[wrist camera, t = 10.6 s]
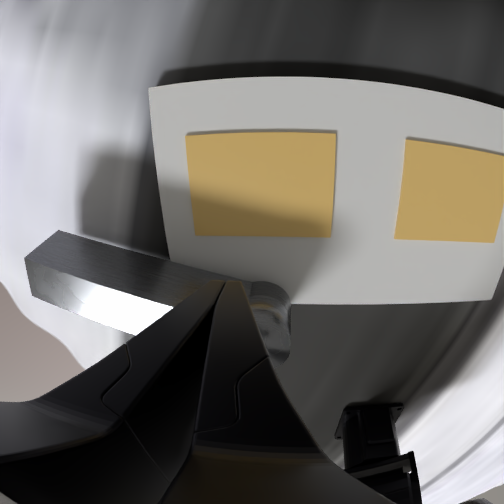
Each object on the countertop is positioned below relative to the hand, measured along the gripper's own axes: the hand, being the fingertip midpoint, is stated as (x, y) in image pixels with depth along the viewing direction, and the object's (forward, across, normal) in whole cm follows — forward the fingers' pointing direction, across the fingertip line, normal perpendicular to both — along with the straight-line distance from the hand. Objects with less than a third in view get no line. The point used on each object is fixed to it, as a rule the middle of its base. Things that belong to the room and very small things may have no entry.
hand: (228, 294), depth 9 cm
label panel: (+11, -6, +1) cm, 13 cm away
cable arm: (+9, +6, +6) cm, 13 cm away
